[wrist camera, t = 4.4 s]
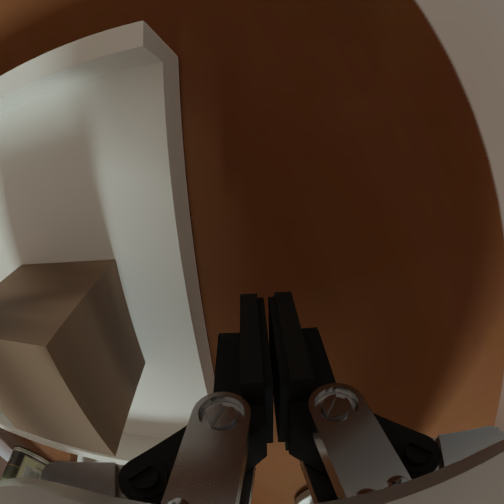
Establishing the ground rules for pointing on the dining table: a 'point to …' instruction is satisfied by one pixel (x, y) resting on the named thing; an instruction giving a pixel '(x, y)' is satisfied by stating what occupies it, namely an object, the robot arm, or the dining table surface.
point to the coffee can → (24, 465)
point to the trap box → (110, 206)
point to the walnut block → (68, 353)
